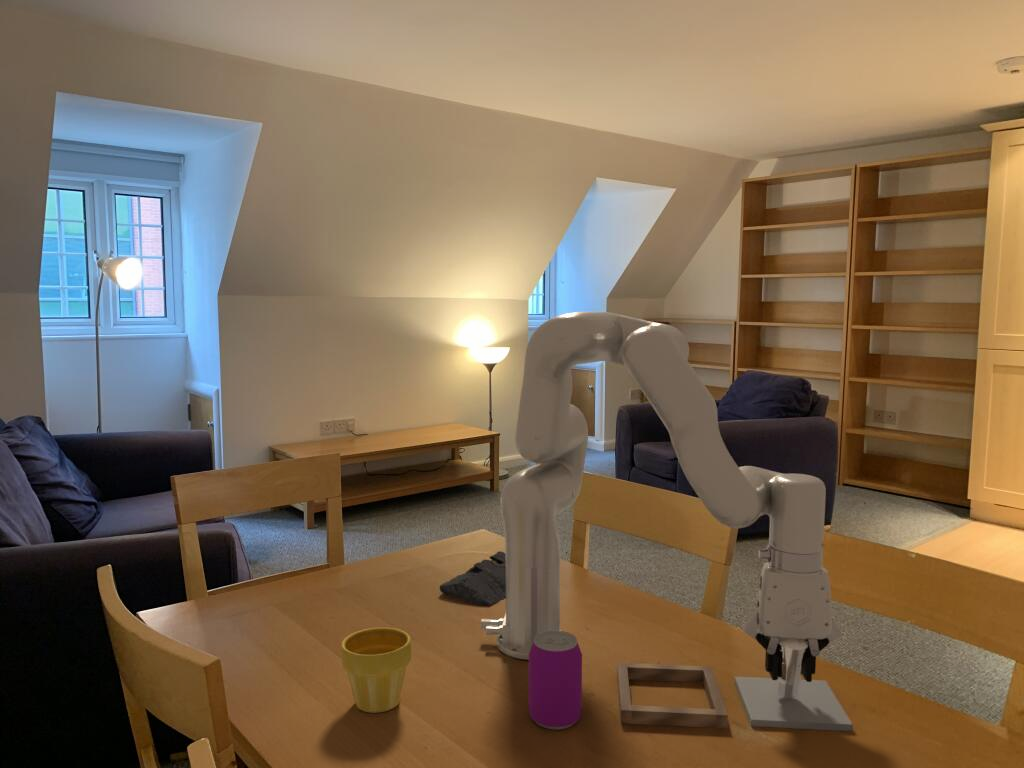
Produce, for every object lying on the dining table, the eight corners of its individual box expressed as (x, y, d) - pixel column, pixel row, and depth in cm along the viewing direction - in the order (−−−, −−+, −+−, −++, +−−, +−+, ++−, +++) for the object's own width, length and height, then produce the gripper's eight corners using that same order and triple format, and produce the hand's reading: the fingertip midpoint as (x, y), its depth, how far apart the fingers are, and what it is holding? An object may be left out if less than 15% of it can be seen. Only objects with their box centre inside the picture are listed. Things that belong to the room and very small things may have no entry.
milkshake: (810, 703, 116) (817, 638, 115) (772, 697, 117) (779, 632, 116) (805, 688, 120) (812, 625, 119) (768, 683, 121) (775, 620, 120)
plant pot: (348, 686, 125) (346, 626, 124) (414, 684, 125) (413, 625, 124) (337, 721, 115) (335, 656, 113) (409, 719, 115) (408, 654, 114)
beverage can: (527, 731, 112) (528, 650, 110) (529, 704, 119) (529, 627, 118) (582, 733, 111) (583, 651, 110) (580, 705, 119) (581, 628, 118)
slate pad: (750, 726, 113) (751, 719, 113) (734, 682, 126) (734, 676, 126) (852, 731, 112) (852, 724, 112) (825, 686, 125) (825, 680, 125)
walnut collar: (620, 723, 114) (621, 709, 114) (617, 674, 129) (617, 662, 129) (727, 728, 113) (727, 715, 112) (711, 678, 127) (711, 666, 127)
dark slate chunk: (427, 596, 164) (426, 574, 163) (484, 566, 182) (484, 546, 182) (489, 611, 156) (489, 588, 155) (542, 578, 175) (543, 557, 174)
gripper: (741, 565, 114) (736, 686, 116) (862, 569, 112) (856, 692, 114) (732, 548, 121) (728, 662, 123) (845, 552, 119) (839, 668, 121)
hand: (789, 675), depth 119 cm, fingers closed on milkshake, 4 cm apart
